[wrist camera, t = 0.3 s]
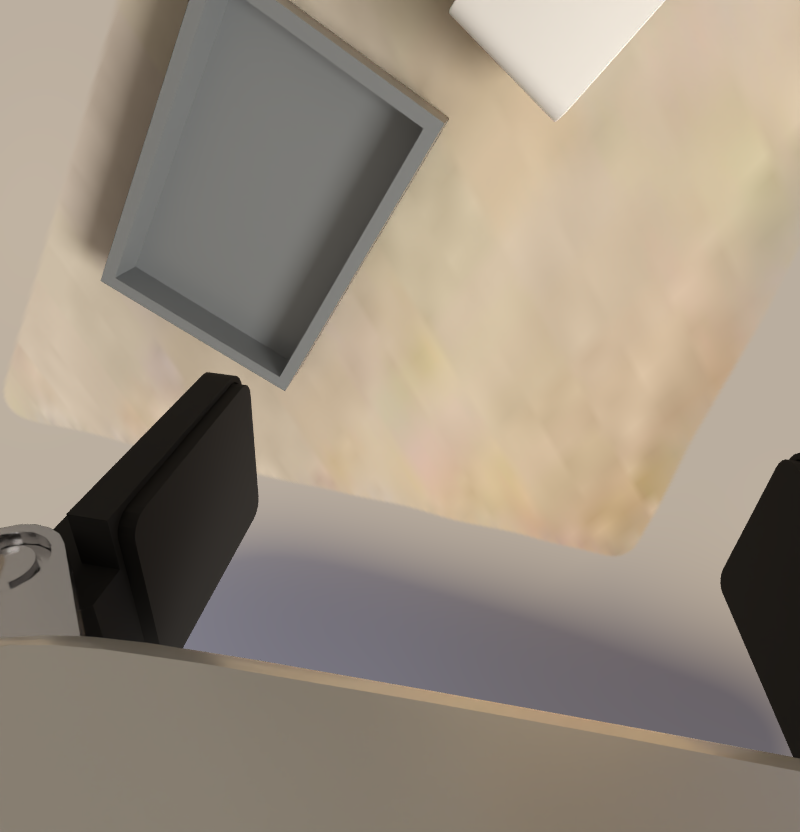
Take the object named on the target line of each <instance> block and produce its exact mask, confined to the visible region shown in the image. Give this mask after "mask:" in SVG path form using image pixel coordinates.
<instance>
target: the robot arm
mask: <svg viewBox="0 0 800 832" xmlns="http://www.w3.org/2000/svg"><path fill="white" fill-rule="evenodd" d="M257 507H258V486H257V473H256V460H255V447H254V434H253V421H252V408H251V395H250V389H249V387H248V386H247V385H242V384H241V381H240V378H238V377H237V376H232V375H224V374H217V373H210V372H206V373H205V374H203V375H202V376H201V377H200V378H199V379H198V380H197V381H196V382H195V383H194V384H193V385H192V386H191V387H190V388H189V389H188V390H187V392H186V393H185V394H184V395H183V396H182V397H181V398H180V399H179V400H178V401H177V402H176V403H175V404H174V405H173V406H172V407H171V408H170V409H169V410H168V411H167V412H166V413H165V414H164V415H163V416H162V417H161V418H160V419H159V420H158V421H157V422H156V423H155V424H154V425H153V426H152V427H151V428H150V429H149V430H148V431H147V432H146V433H145V434H144V435H143V436H142V437H141V438H140V440H139V441H138V442H137V443H136V444H135V445H134V446H133V447H132V448H131V449H130V450H129V451H128V452H127V453H126V454H125V455H124V456H123V457H122V458H121V459H120V460H119V461H118V462H117V463H116V464H115V465H114V466H113V467H112V468H111V469H110V470H109V471H108V472H107V473H106V474H105V475H104V476H103V477H102V478H101V479H100V480H99V481H98V482H97V483H96V484H95V485H94V486H93V488H92V489H91V490H90V491H89V492H88V493H87V494H86V495H85V496H84V497H83V498H82V499H81V500H80V501H79V502H78V503H77V504H76V505H75V506H74V507H73V508H72V509H71V510H70V511H69V512H68V513H67V516H66V517H65V518H64V519H63V520H62V521H61V522H60V523H59V524H58V525H57V526H56V527H55V528H54V529H51V528H49V527H45V526H41V525H36V524H30V525H29V524H24V525H23V524H21V525H14V526H9V527H4V528H0V832H800V453H798V454H795V455H793V456H792V457H791V458H790V459H789V460H782V461H781V462H780V463H779V464H778V466H777V467H776V469H775V471H774V473H773V475H772V477H771V478H770V480H769V482H768V484H767V486H766V488H765V490H764V492H763V494H762V496H761V498H760V500H759V502H758V503H757V505H756V507H755V509H754V511H753V513H752V515H751V517H750V519H749V521H748V523H747V524H746V526H745V528H744V530H743V532H742V534H741V536H740V538H739V540H738V542H737V544H736V545H735V547H734V549H733V551H732V553H731V555H730V557H729V559H728V561H727V563H726V565H725V567H724V568H723V571H722V574H721V589H722V593H723V595H724V597H725V600H726V602H727V604H728V607H729V609H730V611H731V614H732V616H733V618H734V620H735V623H736V625H737V627H738V630H739V632H740V634H741V637H742V639H743V641H744V644H745V646H746V648H747V650H748V653H749V655H750V658H751V660H752V662H753V665H754V667H755V669H756V672H757V674H758V676H759V678H760V681H761V683H762V685H763V688H764V690H765V692H766V695H767V697H768V699H769V702H770V704H771V706H772V709H773V711H774V713H775V716H776V718H777V720H778V723H779V725H780V727H781V730H782V732H783V734H784V737H785V739H786V741H787V744H788V746H789V748H790V750H791V753H792V755H793V757H789V756H784V755H778V754H773V753H767V752H762V751H757V750H752V749H746V748H741V747H735V746H730V745H725V744H719V743H714V742H708V741H703V740H698V739H693V738H687V737H682V736H677V735H671V734H666V733H661V732H655V731H650V730H644V729H639V728H633V727H627V726H622V725H617V724H611V723H606V722H601V721H595V720H590V719H584V718H578V717H573V716H567V715H562V714H556V713H551V712H546V711H540V710H535V709H529V708H524V707H517V706H512V705H507V704H501V703H496V702H490V701H485V700H479V699H474V698H468V697H462V696H457V695H451V694H446V693H440V692H434V691H429V690H423V689H418V688H412V687H407V686H401V685H395V684H390V683H384V682H378V681H372V680H367V679H361V678H355V677H350V676H344V675H338V674H332V673H327V672H321V671H316V670H310V669H304V668H298V667H292V666H287V665H281V664H276V663H270V662H264V661H259V660H252V659H246V658H240V657H234V656H227V655H221V654H214V653H209V652H202V651H196V650H190V649H183V647H184V645H185V643H186V641H187V639H188V637H189V636H190V634H191V632H192V630H193V628H194V626H195V624H196V623H197V621H198V619H199V617H200V615H201V614H202V612H203V610H204V608H205V606H206V605H207V603H208V601H209V599H210V597H211V596H212V594H213V592H214V590H215V588H216V586H217V585H218V583H219V581H220V579H221V577H222V576H223V574H224V572H225V570H226V568H227V566H228V565H229V563H230V561H231V559H232V557H233V556H234V554H235V552H236V550H237V548H238V546H239V544H240V543H241V541H242V539H243V537H244V535H245V533H246V532H247V530H248V528H249V526H250V525H251V523H252V521H253V519H254V517H255V515H256V512H257Z"/></svg>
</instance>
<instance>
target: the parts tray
mask: <svg viewBox="0 0 800 832" xmlns="http://www.w3.org/2000/svg"><path fill="white" fill-rule="evenodd" d="M448 120H449V118H448V117H447V116H446V115H444V114H443V113H441V112H440V111H439V110H437V109H436V108H435V107H433V106H432V105H431V104H429V103H428V102H426V101H425V100H424V99H422V98H421V97H420V96H418V95H417V94H416V93H414V92H413V91H411V90H410V89H409V88H407V87H406V86H405V85H403V84H402V83H401V82H399V81H398V80H396V79H395V78H394V77H392V76H391V75H390V74H388V73H387V72H386V71H384V70H383V69H381V68H380V67H379V66H377V65H376V64H375V63H373V62H372V61H371V60H369V59H368V58H367V57H365V56H364V55H362V54H361V53H360V52H358V51H357V50H356V49H354V48H353V47H352V46H350V45H349V44H347V43H346V42H345V41H343V40H342V39H341V38H339V37H338V36H337V35H335V34H334V33H332V32H331V31H330V30H328V29H327V28H326V27H324V26H323V25H322V24H320V23H319V22H317V21H316V20H315V19H313V18H312V17H311V16H309V15H308V14H307V13H305V12H304V11H302V10H301V9H300V8H298V7H297V6H296V5H294V4H293V3H292V2H290V1H289V0H189V2H188V5H187V9H186V12H185V15H184V18H183V21H182V25H181V28H180V31H179V34H178V37H177V40H176V44H175V47H174V50H173V53H172V56H171V59H170V63H169V66H168V69H167V72H166V75H165V78H164V82H163V85H162V88H161V91H160V94H159V97H158V101H157V104H156V107H155V110H154V113H153V116H152V120H151V123H150V126H149V129H148V132H147V135H146V139H145V142H144V145H143V148H142V151H141V154H140V158H139V161H138V164H137V167H136V170H135V173H134V177H133V180H132V183H131V186H130V189H129V192H128V196H127V199H126V202H125V205H124V208H123V212H122V215H121V218H120V221H119V224H118V227H117V231H116V234H115V237H114V240H113V243H112V246H111V250H110V253H109V256H108V259H107V262H106V265H105V269H104V272H103V275H102V278H101V281H102V282H103V283H105V284H107V285H108V286H110V287H112V288H113V289H115V290H117V291H118V292H120V293H122V294H123V295H125V296H127V297H128V298H130V299H132V300H133V301H135V302H137V303H138V304H140V305H142V306H143V307H145V308H147V309H148V310H150V311H152V312H153V313H155V314H157V315H158V316H160V317H162V318H163V319H165V320H167V321H169V322H170V323H172V324H174V325H175V326H177V327H179V328H180V329H182V330H184V331H185V332H187V333H189V334H190V335H192V336H194V337H195V338H197V339H199V340H200V341H202V342H204V343H205V344H207V345H209V346H210V347H212V348H214V349H215V350H217V351H219V352H220V353H222V354H224V355H225V356H227V357H229V358H230V359H232V360H234V361H235V362H237V363H239V364H240V365H242V366H244V367H245V368H247V369H249V370H250V371H252V372H254V373H255V374H257V375H259V376H260V377H262V378H264V379H265V380H267V381H269V382H270V383H272V384H274V385H275V386H277V387H279V388H280V389H282V390H284V391H285V390H286V389H287V387H288V386H289V384H290V383H291V381H292V380H293V378H294V377H295V375H296V374H297V372H298V371H299V369H300V367H301V366H302V364H303V362H304V361H305V359H306V357H307V356H308V354H309V352H310V351H311V349H312V347H313V346H314V344H315V342H316V341H317V339H318V337H319V336H320V334H321V332H322V331H323V329H324V327H325V326H326V324H327V322H328V321H329V319H330V317H331V316H332V314H333V312H334V311H335V309H336V307H337V306H338V304H339V302H340V301H341V299H342V297H343V296H344V294H345V292H346V290H347V289H348V287H349V285H350V284H351V282H352V280H353V279H354V277H355V275H356V274H357V272H358V270H359V269H360V267H361V265H362V264H363V262H364V260H365V259H366V257H367V255H368V254H369V252H370V250H371V249H372V247H373V245H374V244H375V242H376V240H377V239H378V237H379V235H380V234H381V232H382V230H383V229H384V227H385V225H386V224H387V222H388V220H389V219H390V217H391V215H392V213H393V212H394V210H395V208H396V207H397V205H398V203H399V202H400V200H401V198H402V197H403V195H404V193H405V192H406V190H407V188H408V187H409V185H410V183H411V182H412V180H413V178H414V177H415V175H416V173H417V172H418V170H419V168H420V167H421V165H422V163H423V162H424V160H425V158H426V157H427V155H428V153H429V152H430V150H431V148H432V147H433V145H434V143H435V142H436V140H437V138H438V137H439V135H440V133H441V131H442V130H443V128H444V126H445V125H446V123H447V121H448Z"/></svg>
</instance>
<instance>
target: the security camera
mask: <svg viewBox="0 0 800 832" xmlns="http://www.w3.org/2000/svg"><path fill="white" fill-rule="evenodd" d="M664 1H665V0H455V1H454V2H453V4H452V6H451V7H450V10H449V14H450V15H451V16H452V17H453V18H454V19H455V20H456V21H457V22H458V23H459V24H460V25H461V26H462V27H463V28H464V29H465V30H466V32H467V33H468V34H469V35H470V36H471V37H472V38H473V39H474V40H475V41H476V42H477V43H478V44H479V45H480V46H481V47H482V48H483V49H484V50H485V51H486V52H487V53H488V54H489V55H490V56H491V57H492V58H493V59H494V60H495V61H496V62H497V63H498V64H499V66H500V67H501V68H502V69H503V70H504V71H505V72H506V73H507V74H508V75H509V76H510V77H511V78H512V79H513V80H514V81H515V82H516V83H517V84H518V85H519V86H520V87H521V88H522V89H523V90H524V91H525V92H526V93H527V94H528V95H529V96H530V97H531V98H532V100H533V101H534V102H535V103H536V104H537V105H538V106H539V107H540V108H541V109H542V110H543V111H544V112H545V113H546V114H547V115H548V116H549V117H550V118H551V119H552V120H553V121H554V122H555V121H557V120H559V119H560V118H561V117H562V116H563V115H564V114H565V113H566V112H567V111H568V110H569V109H570V107H571V106H572V105H573V104H574V103H575V102H576V101H577V100H578V98H579V97H580V96H581V95H582V94H583V93H584V92H585V91H586V89H587V88H588V87H589V86H590V85H591V84H592V83H593V82H594V80H595V79H596V78H597V77H598V76H599V75H600V74H601V73H602V71H603V70H604V69H605V68H606V67H607V66H608V65H609V63H610V62H611V61H612V60H613V59H614V58H615V57H616V56H617V54H618V53H619V52H620V51H621V50H622V49H623V48H624V47H625V45H626V44H627V43H628V42H629V41H630V40H631V39H632V38H633V36H634V35H635V34H636V33H637V32H638V31H639V30H640V28H641V27H642V26H643V25H644V24H645V23H646V22H647V21H648V19H649V18H650V17H651V16H652V15H653V14H654V13H655V12H656V10H657V9H658V8H659V7H660V6H661V5H662V4H663V3H664Z"/></svg>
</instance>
